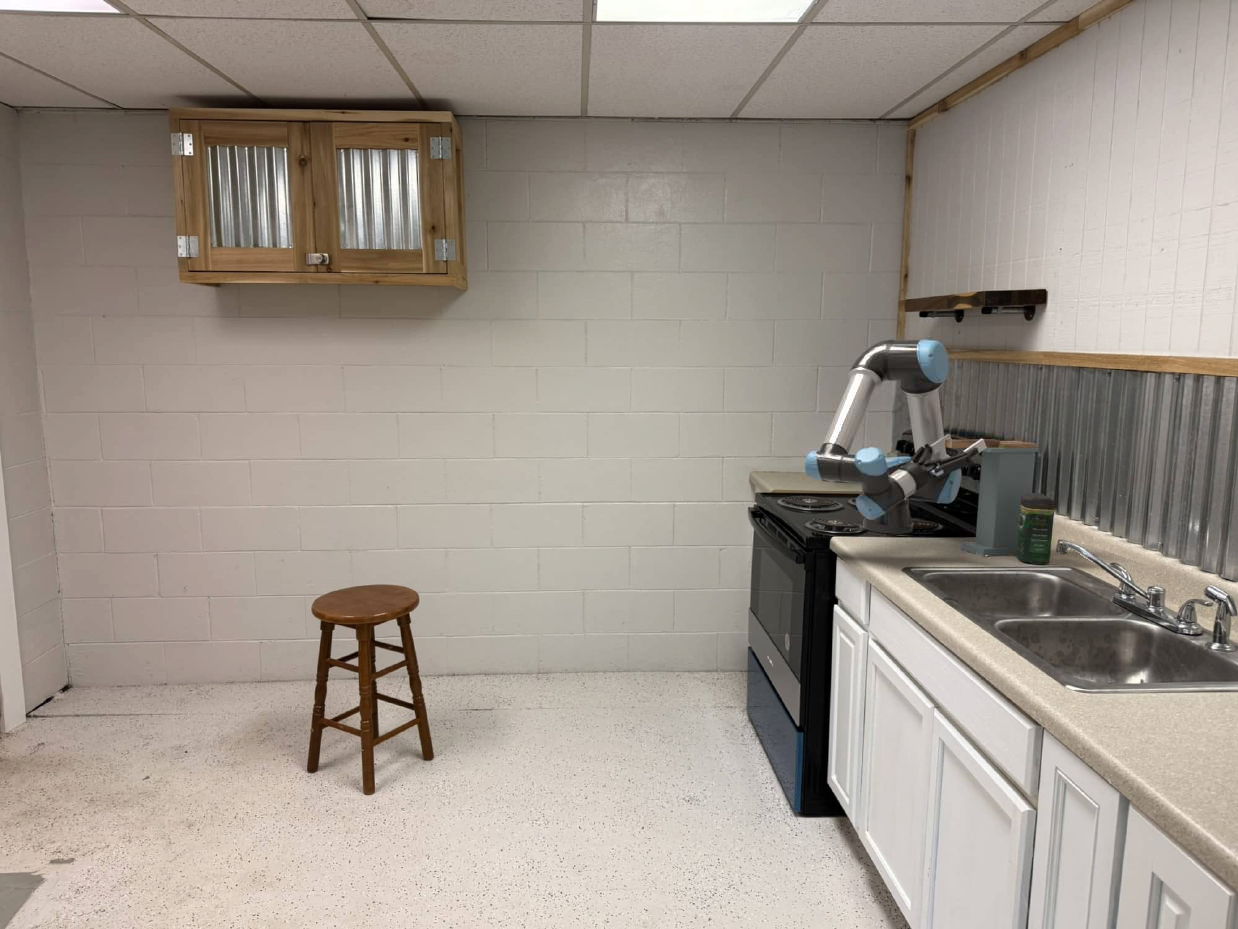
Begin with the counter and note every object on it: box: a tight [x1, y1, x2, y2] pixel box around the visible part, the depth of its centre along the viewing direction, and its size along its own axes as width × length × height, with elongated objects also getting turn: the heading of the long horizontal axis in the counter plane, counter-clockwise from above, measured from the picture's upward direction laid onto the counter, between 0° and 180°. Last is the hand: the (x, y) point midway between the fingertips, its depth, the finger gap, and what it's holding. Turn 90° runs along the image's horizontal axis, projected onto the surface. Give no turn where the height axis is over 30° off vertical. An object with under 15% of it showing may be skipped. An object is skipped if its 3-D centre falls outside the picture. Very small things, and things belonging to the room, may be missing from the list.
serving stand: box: [960, 447, 1040, 557], centre depth 241 cm, size 9×16×30 cm, turn 108°
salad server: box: [945, 438, 1038, 449], centre depth 238 cm, size 8×26×2 cm, turn 108°
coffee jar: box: [1015, 492, 1056, 565], centre depth 231 cm, size 10×8×19 cm
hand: (966, 440), depth 235 cm, fingers open, 13 cm apart
